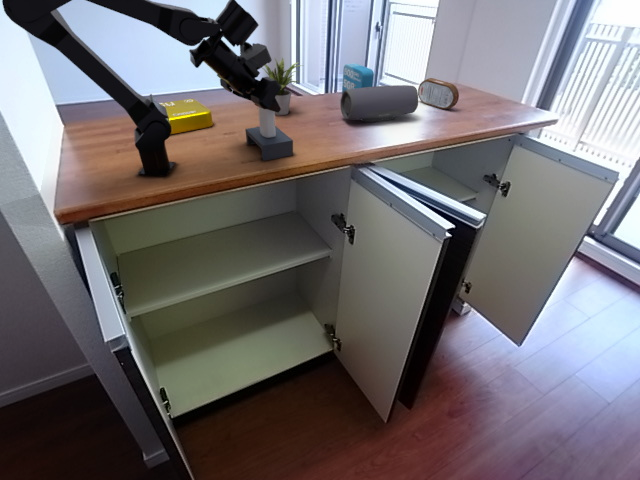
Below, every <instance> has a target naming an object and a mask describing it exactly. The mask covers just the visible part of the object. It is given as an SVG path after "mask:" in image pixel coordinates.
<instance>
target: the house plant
mask: <svg viewBox="0 0 640 480" xmlns="http://www.w3.org/2000/svg"><path fill="white" fill-rule="evenodd" d="M274 61H275V64H276V67H274V69H273V70H272V69H271V68H270V67H269V66H268V65H267V64H266V65H264V66H263V67H265V68H263V67H262V68H261V69H262V70H264V72H265V73H266V74H267V76H268V77H269V78H272V79H274V80H276V81H277V82H278V83H279V84H280V85H281V89H280V91H279V92H278V94H277V95H276V97H275V98H276V100H277V102H278V104H279V106H280V108H281V110H280V111H279V112H275V111H274V112H275V116H285V115H288V114H289V111H290V105H291V96H292V91H290V90H289V89H286V87H287V86H288V85H289V84H291V83H293V84H295V83H297V84H299V81H298V80H293V78H292V77H293V76H294V74H293V73H296V72H299V71H298V70H294V69H295V68H297V67H303V66H304V65H301V64H300V65H297V64H299V63H300V61H298V62H295V63H293V64H291V66H290V67H289V68H288V69H286V70H285V62H284V57H281V60H280V61H279V63H278V60H277V58H276V57H274ZM293 70H294V71H293ZM292 74H293V75H292ZM291 78H292V79H291Z"/></svg>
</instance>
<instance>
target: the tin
mask: <svg viewBox="0 0 640 480" xmlns="http://www.w3.org/2000/svg"><path fill="white" fill-rule="evenodd" d="M417 92H418V99H419V100H420V102H421V103H423V104H425V105H428V106H430V107H435V108H437V109H441V110H449V109H451V108H454V107H455V106H456V105H457V104H458V102H459V98H460V92H459V89H458V88H457V86H456V85H455V84H453V83H452V82H448V81H446V80H445V81H444V80H441V79H437V78H435V77H434V78H433V77H429V78H426V79H424V80H422V81H421V82H420V84H419V85H418V89H417Z"/></svg>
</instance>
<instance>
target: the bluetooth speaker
mask: <svg viewBox="0 0 640 480" xmlns="http://www.w3.org/2000/svg"><path fill="white" fill-rule="evenodd" d="M339 104H340V111H341V115H342V117H343V118H344V119H345V120H361V121H362V122H364V123H373V122H383V121H391V120H394V117H399V116H404V115H410V114H414V113H415V112H416V110H417V109H418V106H419V96H418V89H417V87H416V86H414V85H408V84H402V85H401V84H400V85H399V84H398V85H397V84H395V85H376V86H373V87H364V88H356V89H349V90H345V91H343V94H342V93H341V97H340V102H339Z"/></svg>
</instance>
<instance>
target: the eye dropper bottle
mask: <svg viewBox="0 0 640 480" xmlns="http://www.w3.org/2000/svg"><path fill="white" fill-rule="evenodd" d="M257 109H258V122H259V127H260V133H261V135H262V136H264V137H266V138H271V137H275V136H276V131H275V126H276V114H275V112H274V111H271V110H268V109H265V110H264V109H262V108H260V107H258V106H257Z"/></svg>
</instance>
